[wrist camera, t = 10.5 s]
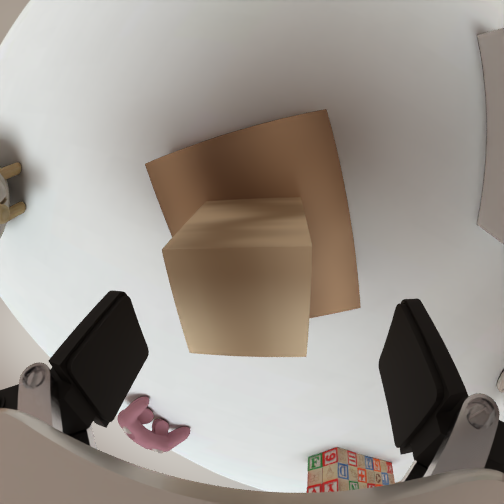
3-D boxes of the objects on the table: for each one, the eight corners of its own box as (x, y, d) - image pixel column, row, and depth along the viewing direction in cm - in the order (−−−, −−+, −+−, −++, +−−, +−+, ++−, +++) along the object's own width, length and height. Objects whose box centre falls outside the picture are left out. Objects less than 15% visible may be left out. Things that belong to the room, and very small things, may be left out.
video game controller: (134, 387, 33) (107, 421, 28) (146, 395, 30) (116, 433, 25) (179, 422, 36) (156, 454, 31) (195, 431, 33) (170, 465, 28)
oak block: (300, 197, 14) (311, 246, 8) (300, 280, 16) (306, 356, 11) (206, 201, 14) (161, 249, 9) (217, 281, 17) (189, 352, 11)
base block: (316, 113, 15) (326, 109, 12) (349, 275, 20) (360, 307, 16) (171, 155, 17) (144, 164, 14) (225, 299, 22) (215, 332, 19)
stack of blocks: (392, 461, 38) (398, 508, 27) (367, 471, 40) (371, 516, 29) (336, 446, 33) (339, 512, 22) (306, 456, 35) (304, 518, 24)
